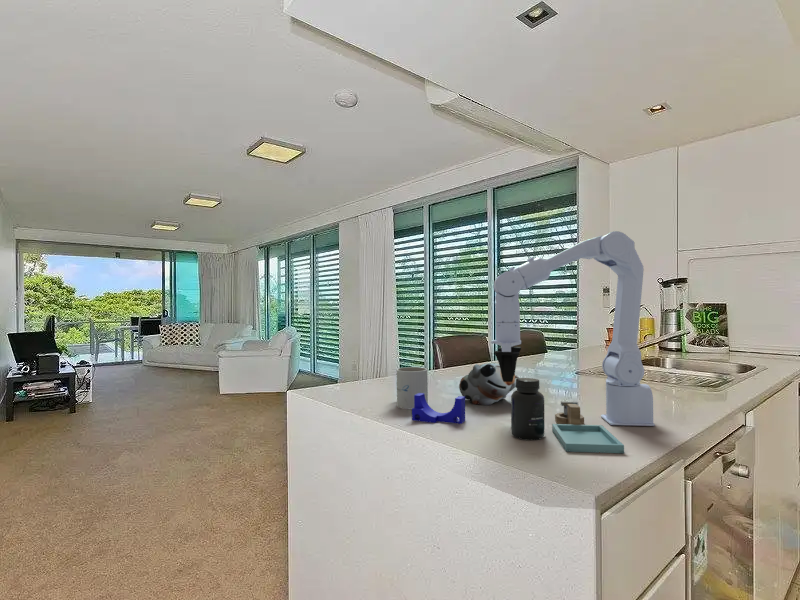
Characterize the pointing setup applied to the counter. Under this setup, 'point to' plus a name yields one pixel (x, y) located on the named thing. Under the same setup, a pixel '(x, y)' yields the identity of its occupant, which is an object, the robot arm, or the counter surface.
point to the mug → (411, 385)
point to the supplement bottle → (527, 410)
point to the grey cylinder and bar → (566, 407)
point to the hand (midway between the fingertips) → (508, 378)
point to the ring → (570, 416)
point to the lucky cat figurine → (485, 384)
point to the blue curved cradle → (429, 415)
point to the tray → (587, 438)
